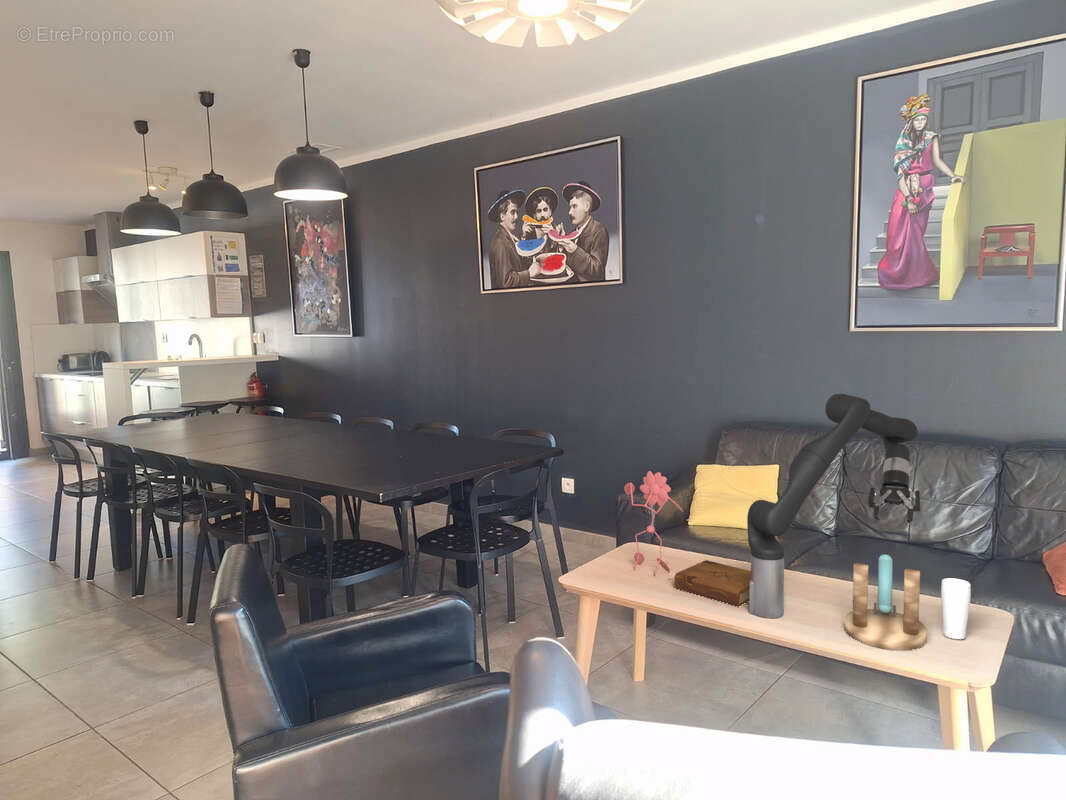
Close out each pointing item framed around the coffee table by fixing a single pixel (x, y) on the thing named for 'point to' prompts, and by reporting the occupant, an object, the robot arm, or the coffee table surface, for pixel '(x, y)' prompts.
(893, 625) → the stool
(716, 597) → the diary
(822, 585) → the coffee table surface
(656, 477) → the figurine
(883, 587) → the teal capsule cylinder
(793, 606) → the coffee table surface
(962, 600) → the drinking glass
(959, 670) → the coffee table surface
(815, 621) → the coffee table surface
